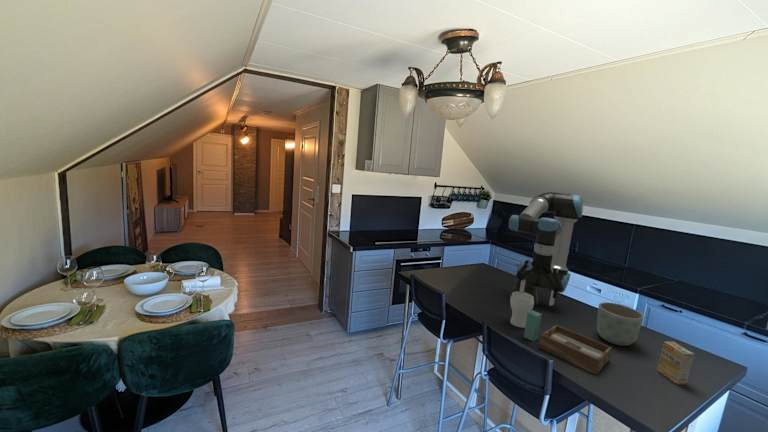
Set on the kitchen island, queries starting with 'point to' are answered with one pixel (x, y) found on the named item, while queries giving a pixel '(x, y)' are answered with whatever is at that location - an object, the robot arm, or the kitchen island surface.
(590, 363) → the crate
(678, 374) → the supplement box
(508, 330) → the kitchen island surface
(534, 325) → the peg
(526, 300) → the cup
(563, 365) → the kitchen island surface
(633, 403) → the kitchen island surface
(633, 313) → the planter
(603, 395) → the kitchen island surface
